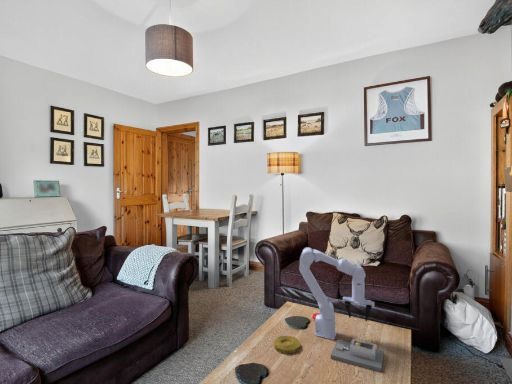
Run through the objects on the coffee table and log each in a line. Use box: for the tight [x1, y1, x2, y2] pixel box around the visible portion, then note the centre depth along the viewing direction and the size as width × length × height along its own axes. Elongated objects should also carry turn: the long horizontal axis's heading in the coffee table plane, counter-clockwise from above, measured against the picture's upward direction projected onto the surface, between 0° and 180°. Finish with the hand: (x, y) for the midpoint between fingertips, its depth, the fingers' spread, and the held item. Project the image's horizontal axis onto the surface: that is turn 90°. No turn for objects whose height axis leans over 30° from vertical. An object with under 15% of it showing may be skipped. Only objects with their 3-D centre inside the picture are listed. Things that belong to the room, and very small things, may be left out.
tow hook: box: [311, 309, 321, 321], centre depth 161 cm, size 8×13×9 cm
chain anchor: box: [336, 343, 348, 351], centre depth 128 cm, size 5×4×1 cm
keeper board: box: [330, 338, 385, 373], centre depth 125 cm, size 20×14×6 cm
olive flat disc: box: [273, 335, 301, 355], centre depth 133 cm, size 12×12×2 cm
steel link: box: [350, 338, 377, 361], centre depth 124 cm, size 10×6×4 cm, turn 62°
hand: (358, 318), depth 140 cm, fingers open, 7 cm apart
